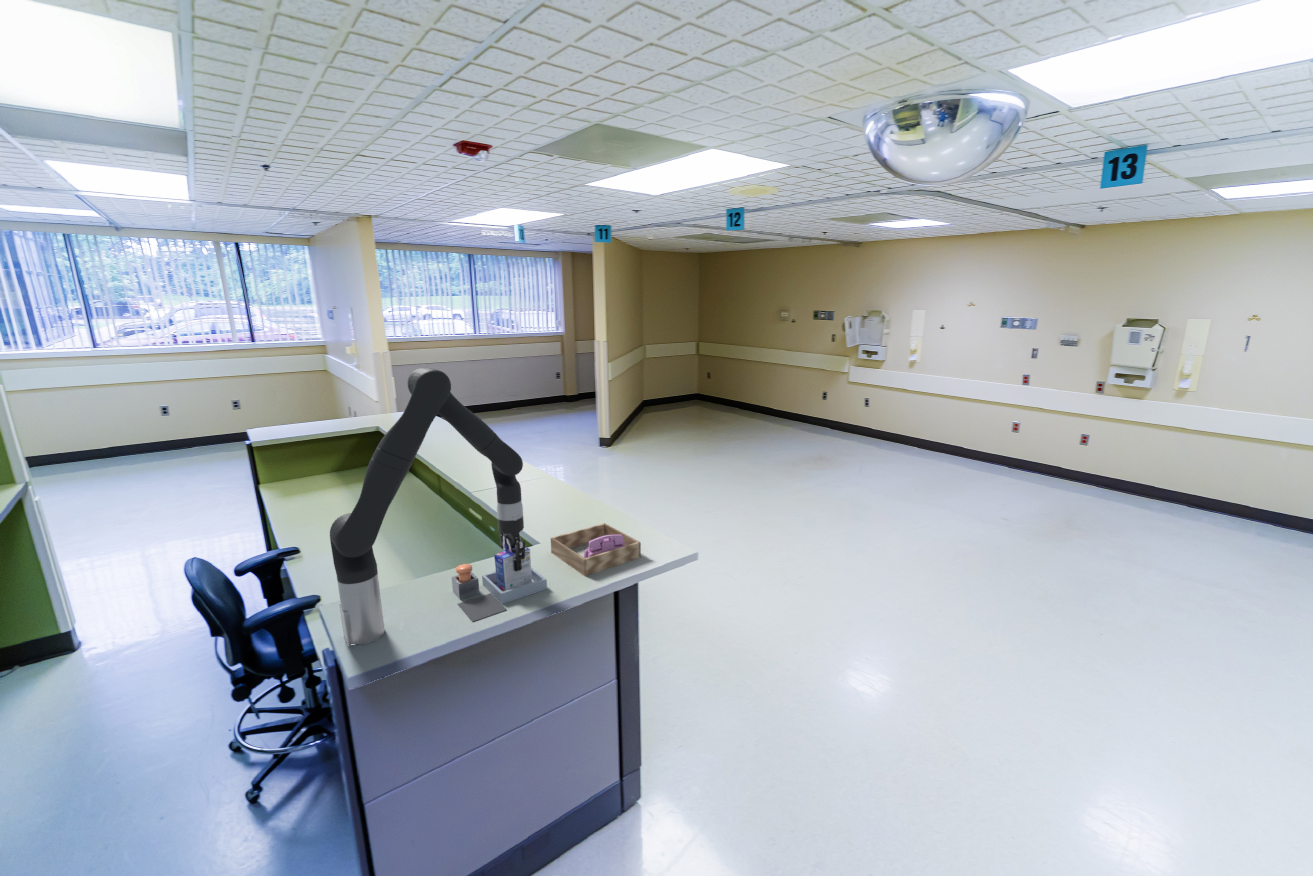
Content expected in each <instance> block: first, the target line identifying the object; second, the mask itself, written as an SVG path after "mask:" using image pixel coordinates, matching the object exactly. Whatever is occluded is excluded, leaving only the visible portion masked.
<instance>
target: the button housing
mask: <svg viewBox="0 0 1313 876" xmlns="http://www.w3.org/2000/svg"><path fill="white" fill-rule="evenodd" d="M470 573H471V580H468V581H464V582H461V583H460V582H459V574H458V575H454V576H451V585H452V586H451V587H452V593H454V595H455V596H456V597H457V599H458V600H462V599H466V598H469V597H473V596H474V595H479V594H480V582H479V580H480V579H479V577H477V576H476V575H475V573H473V572H472V571H471V572H470Z"/></svg>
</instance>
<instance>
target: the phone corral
mask: <svg viewBox="0 0 1313 876" xmlns="http://www.w3.org/2000/svg"><path fill="white" fill-rule="evenodd" d="M605 535H622V536H623V541H624V542H625V544H624V545H625V546H623V547H620V548H617V549H614V550H610V551H607V552H604V553H601V554H597V555H594V556H591V557H588V558H584V556H582V555H581V554H579V553H577V552H576V551H574V550H573V549H572V548H575V547H579V546H581V545H585V544H589V541H591V540H593V539H596V538H598V537H601V536H605ZM641 545H642V544H641V541H639V540H637V539H635V538H633V537H632V536H629V535H627V534H626V533H624V532H622V531H620V530H619V529H617V528H614V527H613V526H611V525H609V524H607V523H600V524H598V525H593V526H590V527H589V526H588V527H585V528H583V529H582V528H581V529H579V530H575V531H571V532H568V533H565V534H559V535H557V536H553V537H551V538H550V553H551V554H553V556H555V557H557V558H558V559H559V560H561V561H563V562H564V563H565V564H566V565H568V566H569V567H571V568H572V569H574V570H575V571H576V572H578V573H579V574H581V575H582V576H584V577H586V576H590V575H592V573H593V574H596V573H599V572H602V571H605V570H607V569H609V568H614V567H616V566H619V565H622V564H624V563H625V564H626V563H628V562H631V561H634V560H636V559H640V558H641V556H642V552H641V550H642V546H641ZM601 570H602V571H601ZM595 572H596V573H595Z"/></svg>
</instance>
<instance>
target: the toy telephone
mask: <svg viewBox="0 0 1313 876" xmlns="http://www.w3.org/2000/svg"><path fill="white" fill-rule="evenodd" d="M624 544H625V542H624V541H623V536H622V535H605V536H601V537H598V538H596V539H593V540H591V541H589V543H588V546H587V548H586V549H584V552H583V557H584V558H588V557H591V556H594V555H597V554H601V553H604V552H607V551H610V550H614V549H617V548H620V547H623V546H625V545H624Z"/></svg>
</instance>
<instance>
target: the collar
mask: <svg viewBox="0 0 1313 876" xmlns="http://www.w3.org/2000/svg"><path fill="white" fill-rule="evenodd" d="M531 575H532V583H529V584H526V585H523V586H519V587H516V588H513V589H510V590H507V591H504V592H502V591H501V590H500V589H499V588H498V587H497V584H495V583H497V579H496V571H493V572H489V573H486V574H482V575H481V578H482V579H481V580H482V586H483V587H484V588H485V589H486V590H487V592H488V593H489V594H490V593H491V594H492V595H493V596H494V597H495V598H496V599H497V600H498V601H499V602H500V603H501V604H502V605H504V604H507V603H509V602H513V601H515V600H518V599H521V598H524V597H527V596H529V595H534V594H536V593H538V592H541V591H545V590H548V586H547V585H548V582H547V581H548V580H547V578H546V577H545V576H543V575H542V574H540V573H539V572H538V571H537V570H535V569H534V568H533V567H532V566H531Z"/></svg>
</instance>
